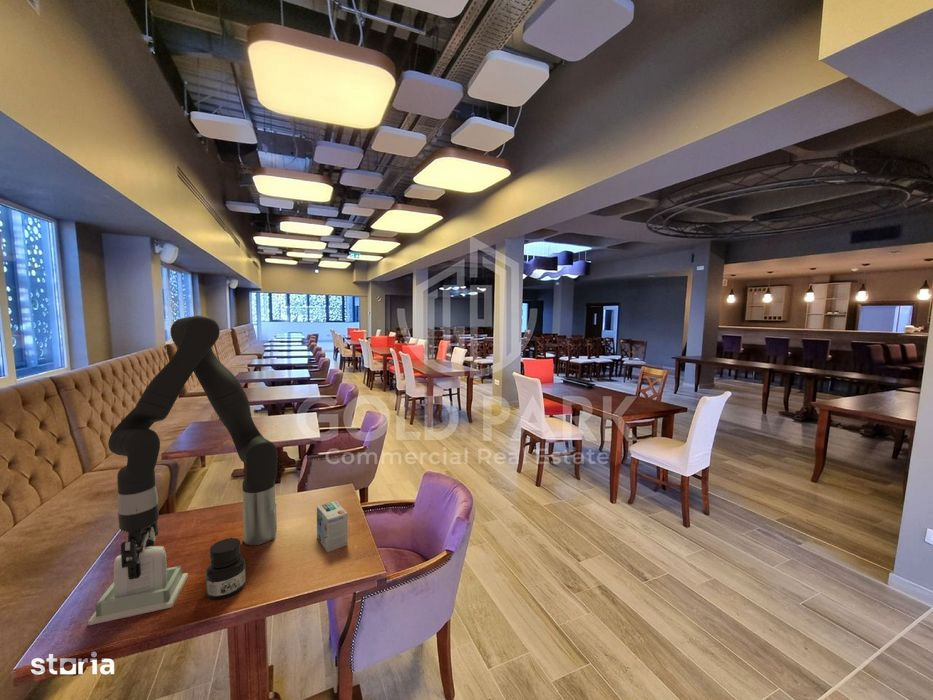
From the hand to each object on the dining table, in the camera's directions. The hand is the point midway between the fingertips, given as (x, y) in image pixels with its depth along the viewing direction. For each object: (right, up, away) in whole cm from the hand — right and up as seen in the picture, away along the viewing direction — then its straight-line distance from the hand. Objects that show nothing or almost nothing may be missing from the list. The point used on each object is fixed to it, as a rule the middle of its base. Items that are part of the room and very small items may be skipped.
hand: (142, 567), depth 94 cm
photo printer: (0, -8, 0) cm, 8 cm away
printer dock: (0, -8, +1) cm, 9 cm away
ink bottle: (+18, -9, +5) cm, 21 cm away
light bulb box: (+39, -8, +27) cm, 48 cm away
